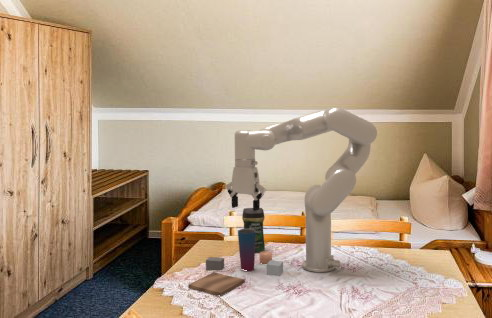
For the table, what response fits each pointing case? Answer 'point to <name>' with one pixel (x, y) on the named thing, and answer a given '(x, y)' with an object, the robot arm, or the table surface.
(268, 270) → the slate block
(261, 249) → the coffee jar
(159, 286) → the table surface
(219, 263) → the taupe block
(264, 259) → the terracotta ball
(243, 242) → the cup
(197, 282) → the walnut board
